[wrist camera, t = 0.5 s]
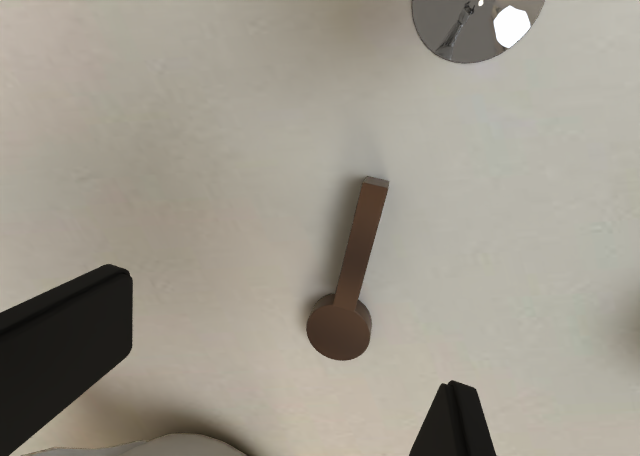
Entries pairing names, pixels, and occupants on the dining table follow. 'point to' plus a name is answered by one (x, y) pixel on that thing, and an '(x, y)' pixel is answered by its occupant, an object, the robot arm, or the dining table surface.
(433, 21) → the wine glass
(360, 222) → the wooden spoon
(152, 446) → the chamber pot
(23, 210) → the dining table surface
